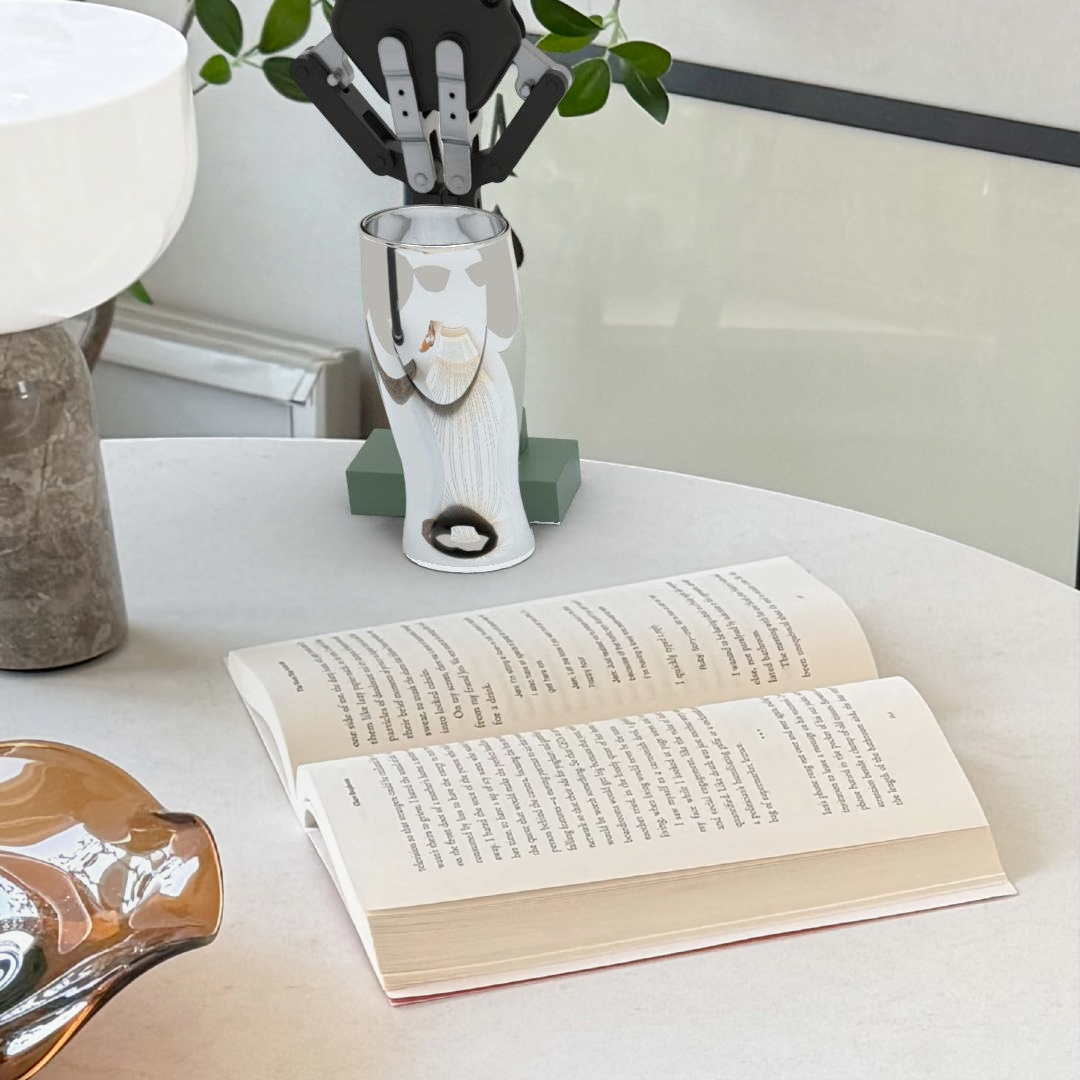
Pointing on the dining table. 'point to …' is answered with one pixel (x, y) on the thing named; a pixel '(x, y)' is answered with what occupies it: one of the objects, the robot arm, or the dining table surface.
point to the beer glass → (450, 376)
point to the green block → (542, 470)
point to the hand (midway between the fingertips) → (456, 269)
